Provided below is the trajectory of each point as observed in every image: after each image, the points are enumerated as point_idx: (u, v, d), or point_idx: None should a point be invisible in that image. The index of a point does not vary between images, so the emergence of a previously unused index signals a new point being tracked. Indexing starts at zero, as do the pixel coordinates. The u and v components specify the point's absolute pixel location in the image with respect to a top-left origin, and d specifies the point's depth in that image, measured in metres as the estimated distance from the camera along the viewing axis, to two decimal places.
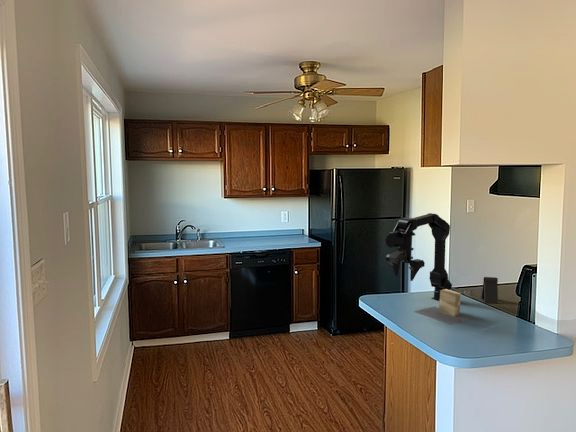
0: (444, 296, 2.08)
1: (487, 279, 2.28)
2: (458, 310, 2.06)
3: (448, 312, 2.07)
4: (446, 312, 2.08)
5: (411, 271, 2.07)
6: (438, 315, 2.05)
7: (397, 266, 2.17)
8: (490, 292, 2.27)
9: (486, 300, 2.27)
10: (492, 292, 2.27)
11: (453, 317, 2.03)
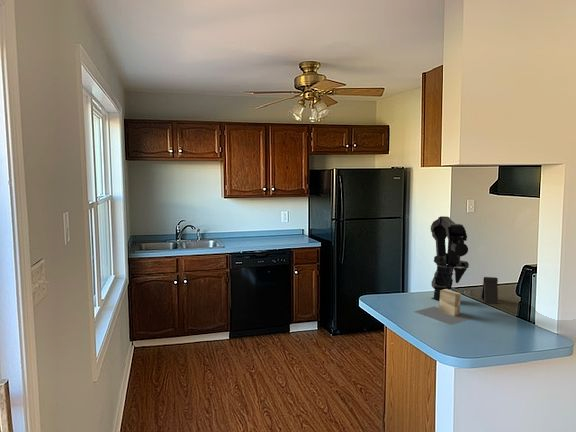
0: (444, 296, 2.08)
1: (487, 279, 2.28)
2: (458, 310, 2.06)
3: (448, 312, 2.07)
4: (446, 312, 2.08)
5: None
6: (438, 315, 2.05)
7: (459, 273, 2.15)
8: (490, 292, 2.27)
9: (486, 300, 2.27)
10: (492, 292, 2.27)
11: (453, 317, 2.03)
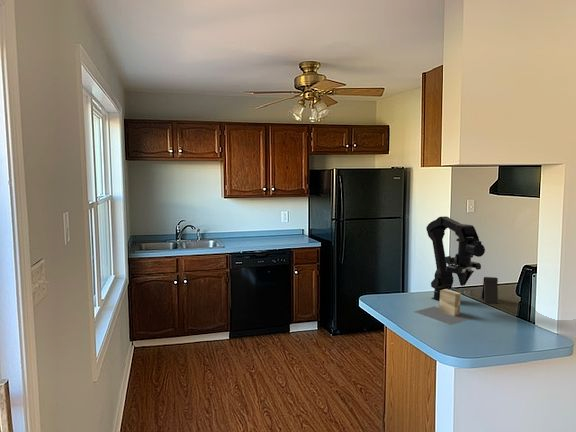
0: (444, 296, 2.08)
1: (487, 279, 2.28)
2: (458, 310, 2.06)
3: (448, 312, 2.07)
4: (446, 312, 2.08)
5: None
6: (438, 315, 2.05)
7: (465, 275, 2.12)
8: (490, 292, 2.27)
9: (486, 300, 2.27)
10: (492, 292, 2.27)
11: (453, 317, 2.03)
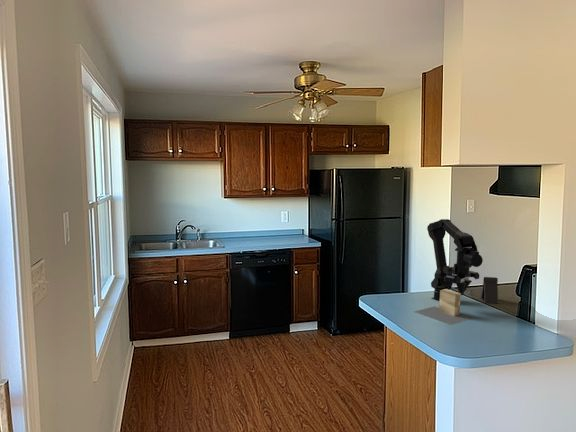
0: (444, 296, 2.08)
1: (487, 279, 2.28)
2: (458, 310, 2.06)
3: (448, 312, 2.07)
4: (446, 312, 2.08)
5: None
6: (438, 315, 2.05)
7: None
8: (490, 292, 2.27)
9: (486, 300, 2.27)
10: (492, 292, 2.27)
11: (453, 317, 2.03)
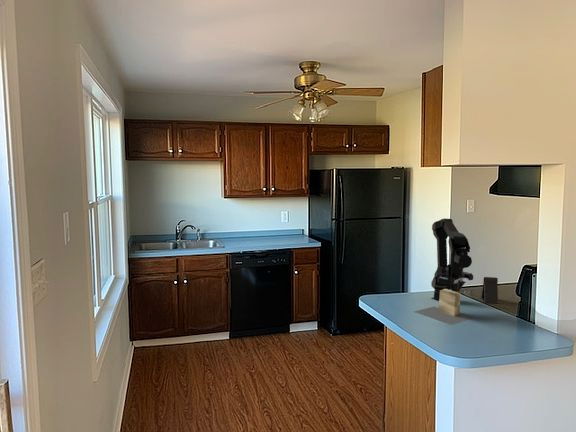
0: (444, 296, 2.08)
1: (487, 279, 2.28)
2: (458, 310, 2.06)
3: (448, 312, 2.07)
4: (446, 312, 2.08)
5: None
6: (438, 315, 2.05)
7: None
8: (490, 292, 2.27)
9: (486, 300, 2.27)
10: (492, 292, 2.27)
11: (453, 317, 2.03)
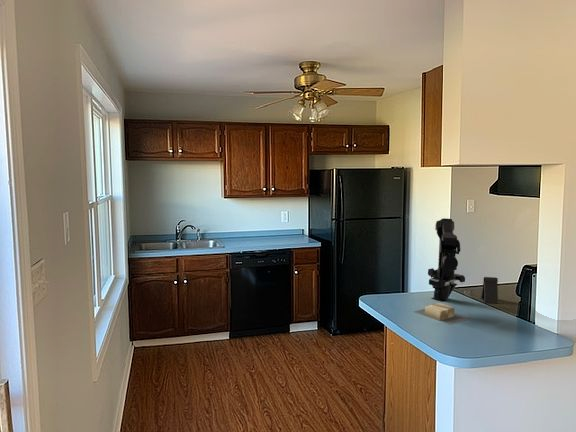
0: None
1: (487, 279, 2.28)
2: (451, 310, 2.03)
3: None
4: None
5: None
6: None
7: None
8: (490, 292, 2.27)
9: (486, 300, 2.27)
10: (492, 292, 2.27)
11: (453, 317, 2.03)
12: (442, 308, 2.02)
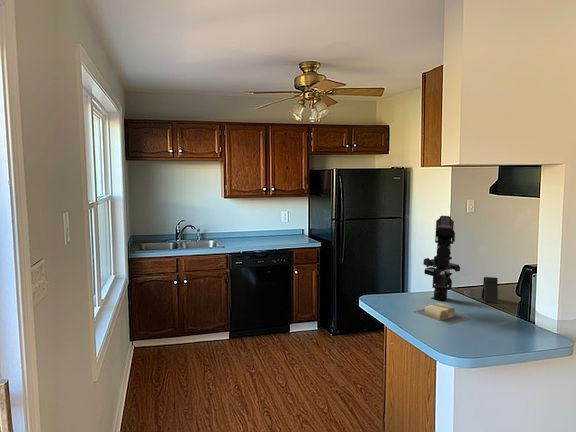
0: None
1: (487, 279, 2.28)
2: (451, 310, 2.03)
3: None
4: None
5: None
6: None
7: None
8: (490, 292, 2.27)
9: (486, 300, 2.27)
10: (492, 292, 2.27)
11: (453, 317, 2.03)
12: (442, 308, 2.02)
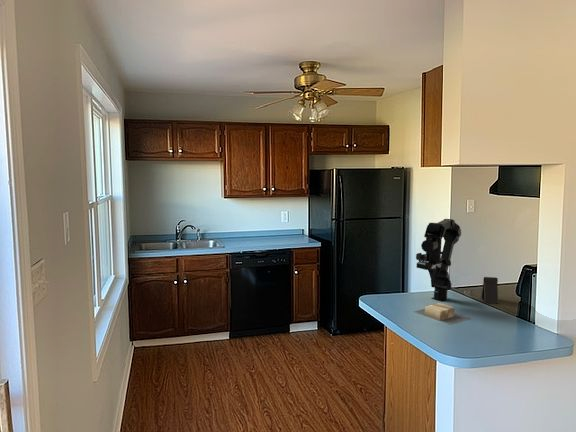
0: None
1: (487, 279, 2.28)
2: (451, 310, 2.03)
3: None
4: None
5: None
6: None
7: None
8: (490, 292, 2.27)
9: (486, 300, 2.27)
10: (492, 292, 2.27)
11: (453, 317, 2.03)
12: (442, 308, 2.02)
